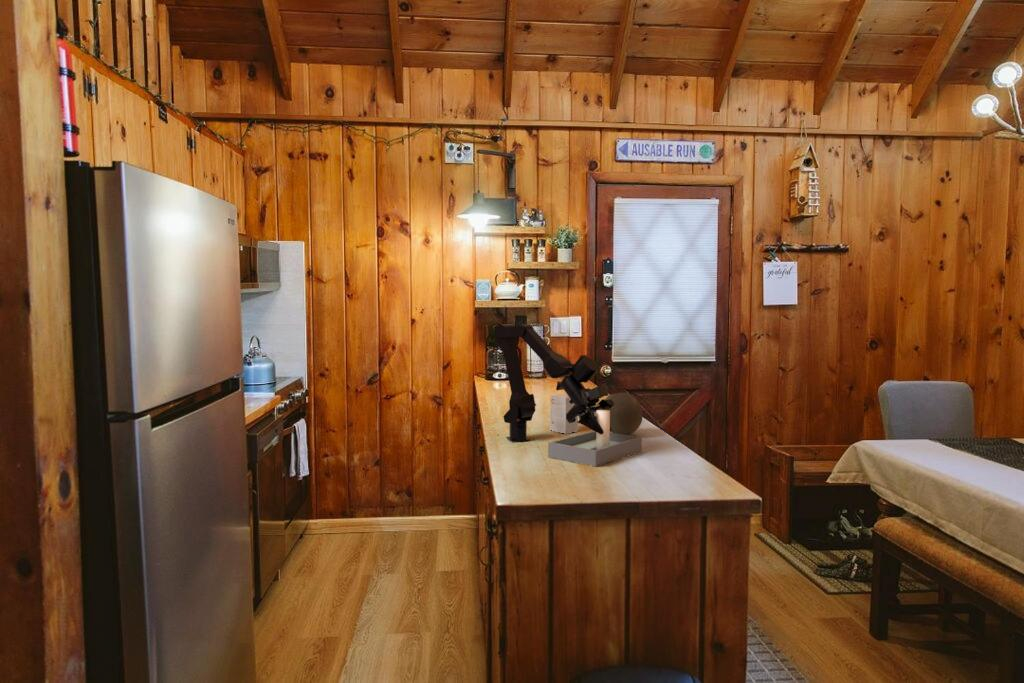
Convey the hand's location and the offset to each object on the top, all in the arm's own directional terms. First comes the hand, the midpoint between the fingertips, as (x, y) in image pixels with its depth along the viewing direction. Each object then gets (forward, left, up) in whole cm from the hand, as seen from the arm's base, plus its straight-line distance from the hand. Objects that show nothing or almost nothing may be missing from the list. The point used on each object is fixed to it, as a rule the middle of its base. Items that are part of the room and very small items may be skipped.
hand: (606, 432), depth 196 cm
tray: (-3, -2, -7) cm, 8 cm away
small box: (-39, +2, -8) cm, 39 cm away
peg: (-1, -1, -7) cm, 7 cm away
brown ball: (-26, +18, -7) cm, 32 cm away
